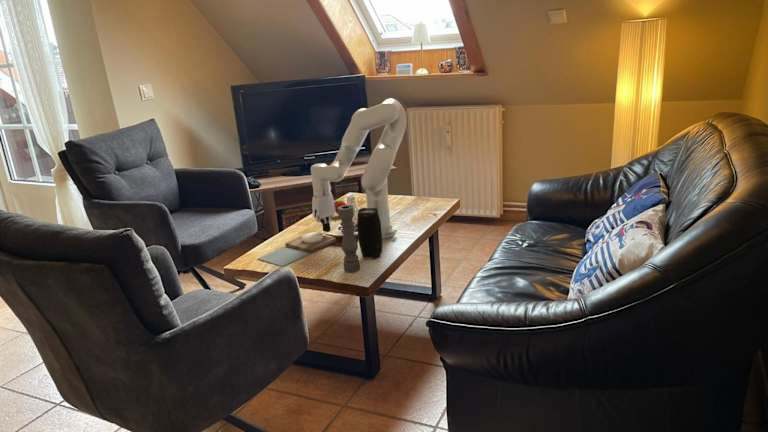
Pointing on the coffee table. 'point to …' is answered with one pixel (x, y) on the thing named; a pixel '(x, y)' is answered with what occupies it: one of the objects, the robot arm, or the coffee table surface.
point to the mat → (283, 256)
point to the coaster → (312, 237)
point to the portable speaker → (369, 233)
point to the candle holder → (349, 239)
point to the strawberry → (338, 204)
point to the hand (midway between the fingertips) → (326, 231)
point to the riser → (310, 244)
